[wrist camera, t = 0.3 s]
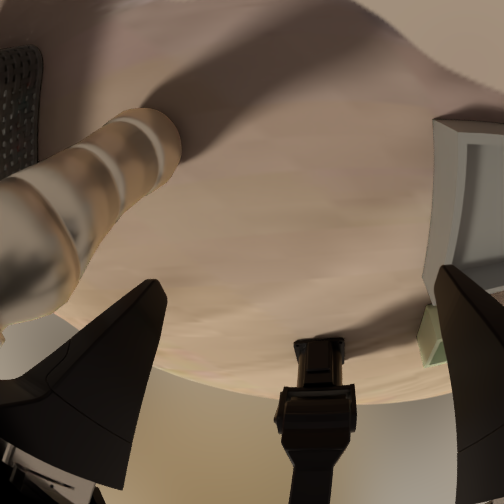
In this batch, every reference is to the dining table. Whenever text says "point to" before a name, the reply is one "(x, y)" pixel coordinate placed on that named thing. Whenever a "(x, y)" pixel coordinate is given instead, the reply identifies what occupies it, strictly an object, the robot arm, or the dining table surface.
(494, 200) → the large crate
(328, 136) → the dining table surface
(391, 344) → the dining table surface
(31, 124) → the storage bin
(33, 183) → the plastic bottle
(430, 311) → the small crate
